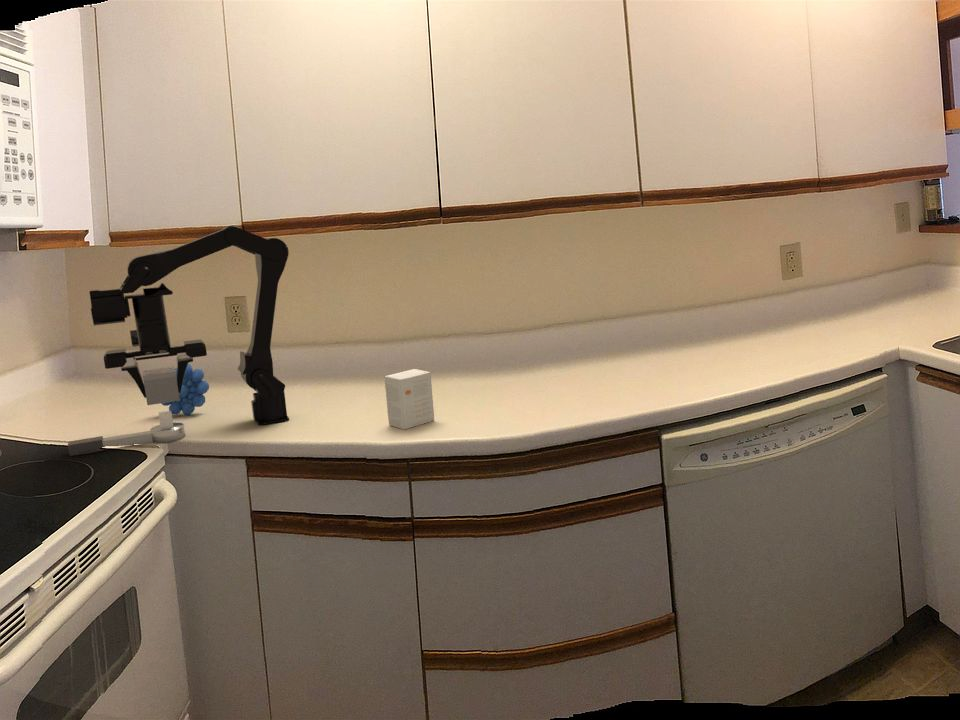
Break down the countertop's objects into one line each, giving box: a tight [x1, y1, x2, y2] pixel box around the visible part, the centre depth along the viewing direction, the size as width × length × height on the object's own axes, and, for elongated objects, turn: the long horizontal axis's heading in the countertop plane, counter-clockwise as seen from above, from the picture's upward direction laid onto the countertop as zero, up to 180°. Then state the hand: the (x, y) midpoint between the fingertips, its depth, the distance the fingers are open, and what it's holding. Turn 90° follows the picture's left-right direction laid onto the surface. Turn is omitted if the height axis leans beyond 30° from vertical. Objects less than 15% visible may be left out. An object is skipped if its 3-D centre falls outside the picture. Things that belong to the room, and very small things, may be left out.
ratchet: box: [67, 410, 186, 455], centre depth 148 cm, size 21×6×6 cm, turn 113°
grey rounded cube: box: [142, 366, 180, 406], centre depth 149 cm, size 6×6×6 cm
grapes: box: [160, 363, 210, 416], centre depth 169 cm, size 12×7×12 cm, turn 88°
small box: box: [383, 368, 435, 430], centre depth 151 cm, size 8×6×10 cm
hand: (162, 395), depth 150 cm, fingers closed on grey rounded cube, 6 cm apart
